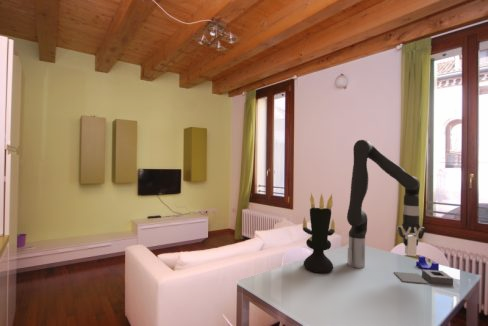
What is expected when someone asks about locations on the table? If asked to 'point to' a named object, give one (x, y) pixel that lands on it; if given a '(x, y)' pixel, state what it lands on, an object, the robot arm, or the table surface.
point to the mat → (410, 277)
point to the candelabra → (319, 236)
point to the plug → (411, 245)
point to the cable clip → (424, 265)
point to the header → (437, 277)
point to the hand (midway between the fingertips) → (410, 245)
